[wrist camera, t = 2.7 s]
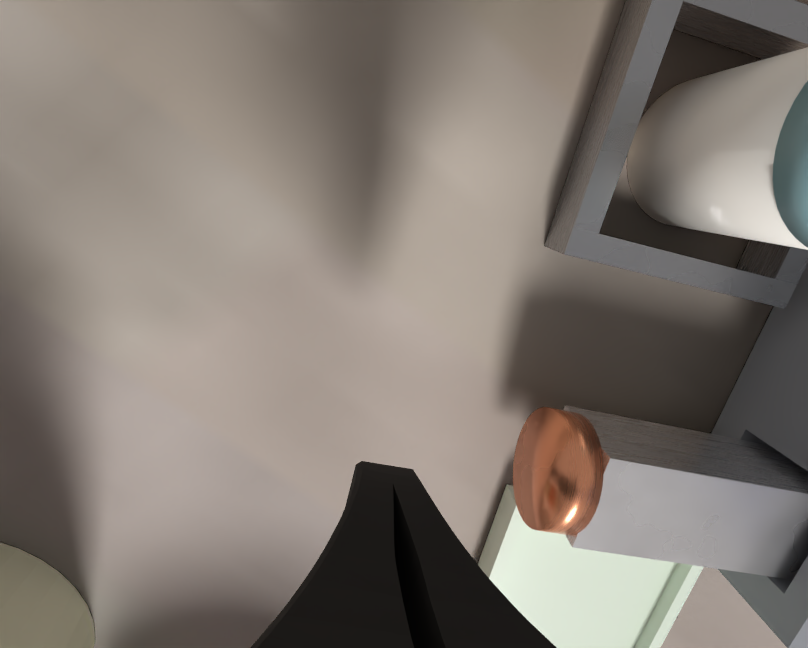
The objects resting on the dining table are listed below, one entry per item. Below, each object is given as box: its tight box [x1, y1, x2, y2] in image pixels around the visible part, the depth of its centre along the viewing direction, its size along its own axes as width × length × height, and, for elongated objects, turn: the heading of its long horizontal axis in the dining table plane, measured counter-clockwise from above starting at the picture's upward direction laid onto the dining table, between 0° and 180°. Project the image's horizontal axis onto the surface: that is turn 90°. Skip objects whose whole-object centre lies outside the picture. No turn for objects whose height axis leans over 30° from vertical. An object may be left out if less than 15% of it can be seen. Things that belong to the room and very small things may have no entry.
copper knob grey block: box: [513, 405, 808, 580], centre depth 15 cm, size 9×4×4 cm, turn 76°
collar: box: [544, 0, 808, 309], centre depth 14 cm, size 8×8×2 cm
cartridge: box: [627, 47, 808, 250], centre depth 11 cm, size 4×4×7 cm
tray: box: [478, 484, 703, 648], centre depth 19 cm, size 8×8×1 cm
